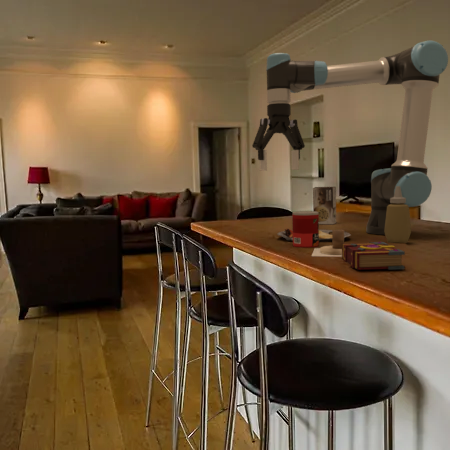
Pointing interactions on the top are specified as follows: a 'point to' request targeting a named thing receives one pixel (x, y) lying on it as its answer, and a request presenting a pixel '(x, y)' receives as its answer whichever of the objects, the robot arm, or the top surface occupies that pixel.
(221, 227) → the top surface
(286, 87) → the robot arm
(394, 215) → the squeeze bottle
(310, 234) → the canned food
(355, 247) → the decorative book
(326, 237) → the food plate
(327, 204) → the coffee box
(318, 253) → the mat
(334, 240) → the lid
